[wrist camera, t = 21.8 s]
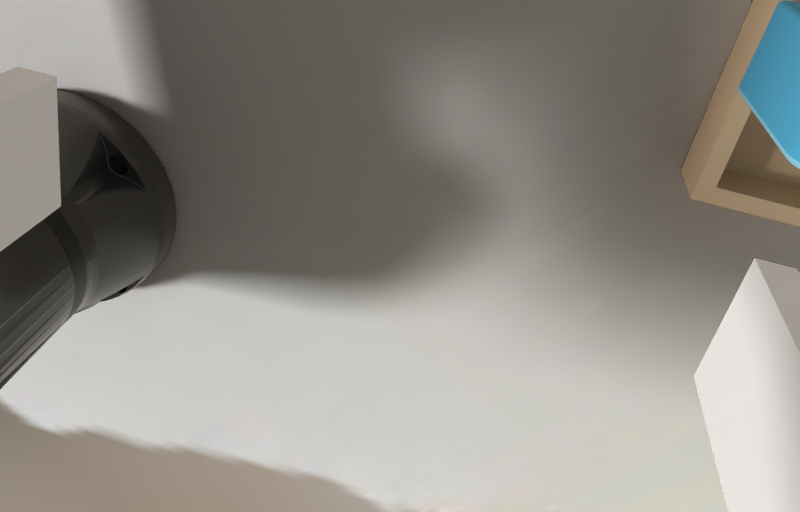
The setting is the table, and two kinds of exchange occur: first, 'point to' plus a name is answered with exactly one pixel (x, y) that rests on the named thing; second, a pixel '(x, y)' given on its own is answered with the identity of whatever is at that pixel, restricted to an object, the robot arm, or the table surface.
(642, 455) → the table surface
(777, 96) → the data package
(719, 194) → the light brown shallow tray
